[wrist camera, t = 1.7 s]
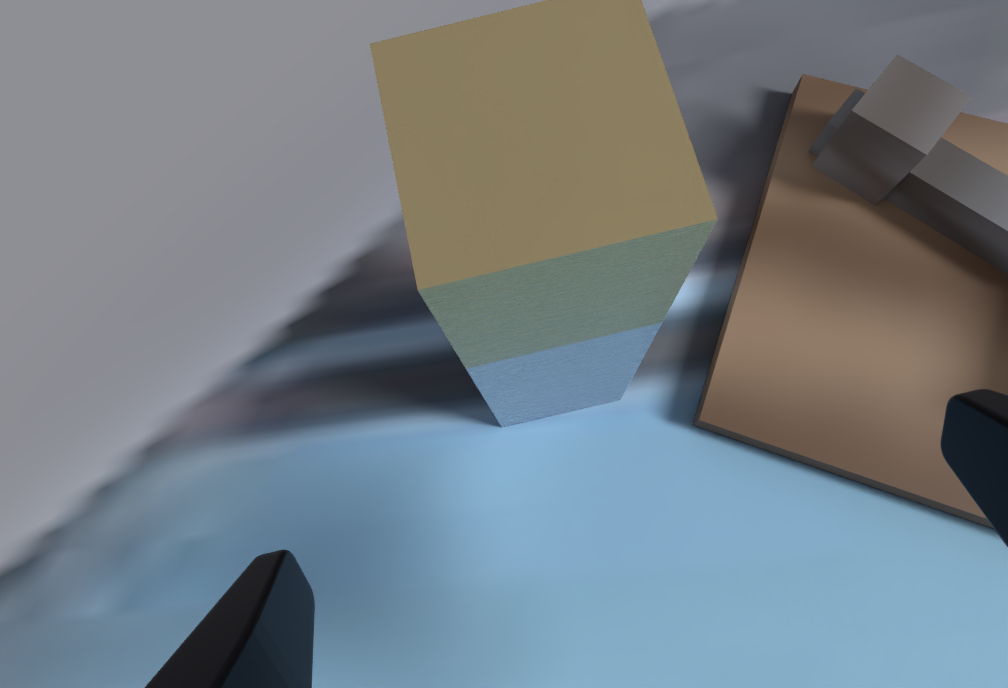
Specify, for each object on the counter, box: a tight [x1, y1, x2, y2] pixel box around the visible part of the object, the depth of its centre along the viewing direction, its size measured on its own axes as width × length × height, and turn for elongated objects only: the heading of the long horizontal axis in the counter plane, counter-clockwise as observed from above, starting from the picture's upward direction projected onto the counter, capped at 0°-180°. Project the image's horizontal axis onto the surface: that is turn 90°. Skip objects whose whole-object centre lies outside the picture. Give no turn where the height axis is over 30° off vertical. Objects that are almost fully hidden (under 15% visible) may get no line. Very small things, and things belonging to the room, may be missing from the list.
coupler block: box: [370, 0, 718, 427], centre depth 15 cm, size 4×4×13 cm
